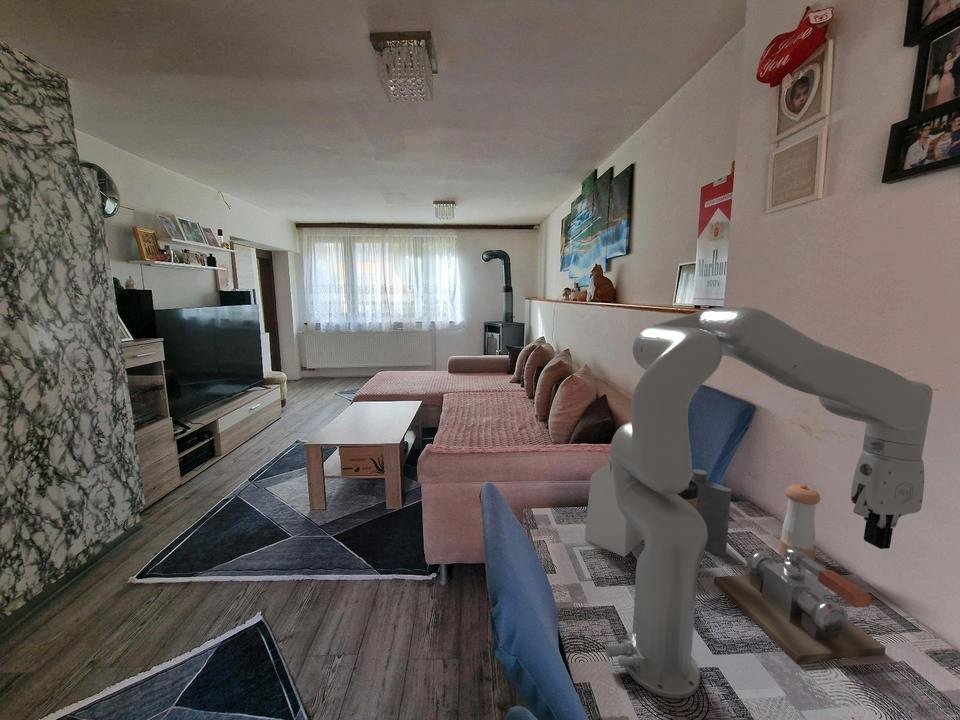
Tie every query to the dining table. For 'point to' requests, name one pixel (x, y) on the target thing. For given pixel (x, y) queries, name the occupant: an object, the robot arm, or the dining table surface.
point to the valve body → (796, 595)
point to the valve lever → (830, 579)
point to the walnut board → (796, 627)
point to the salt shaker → (800, 520)
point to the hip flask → (713, 511)
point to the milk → (608, 516)
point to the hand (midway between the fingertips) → (876, 544)
